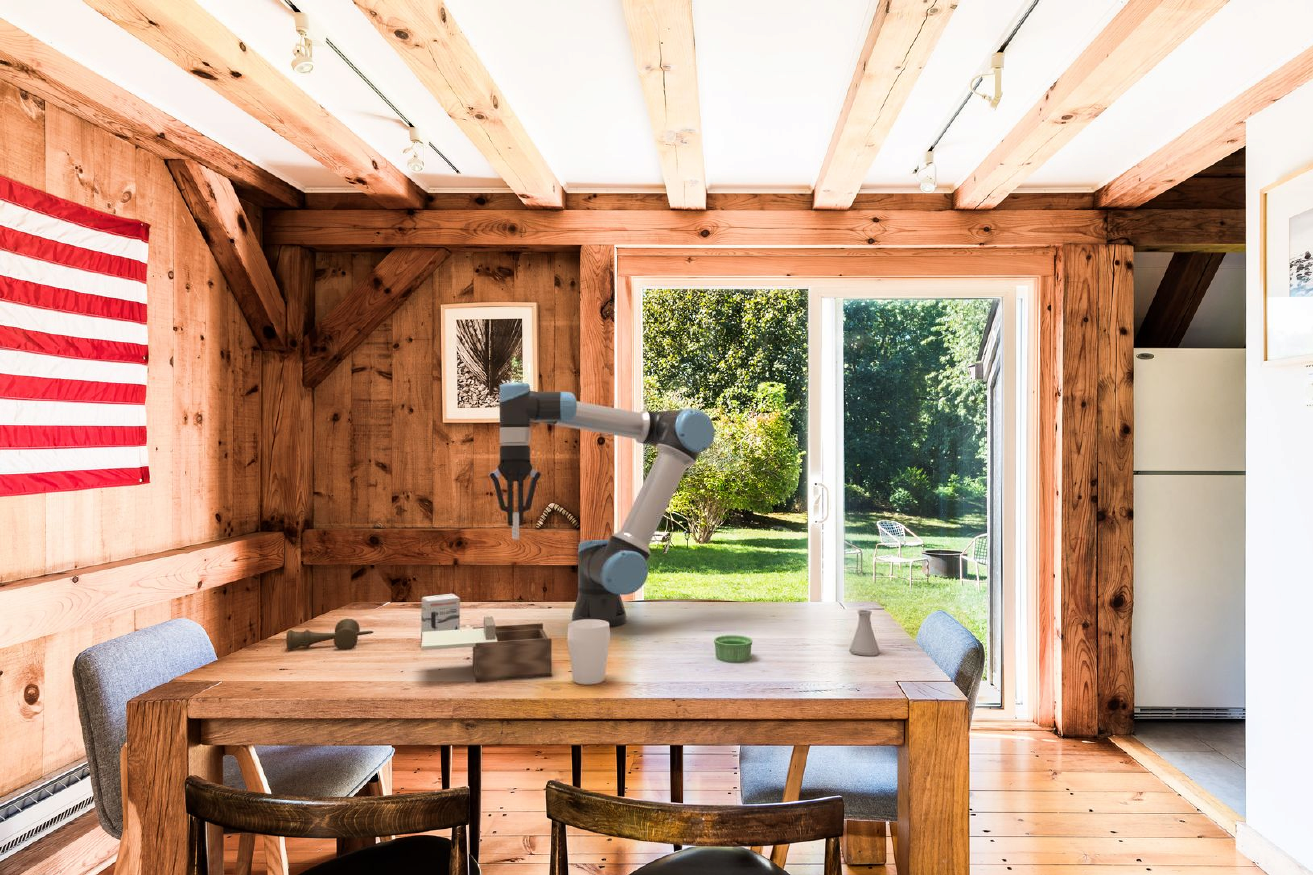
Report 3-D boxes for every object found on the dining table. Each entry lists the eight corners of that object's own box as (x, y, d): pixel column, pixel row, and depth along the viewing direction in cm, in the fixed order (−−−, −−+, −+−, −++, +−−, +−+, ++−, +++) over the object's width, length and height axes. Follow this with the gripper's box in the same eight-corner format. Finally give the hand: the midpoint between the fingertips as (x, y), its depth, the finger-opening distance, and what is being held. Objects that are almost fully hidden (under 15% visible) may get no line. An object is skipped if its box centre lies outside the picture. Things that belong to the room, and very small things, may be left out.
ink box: (426, 648, 199) (426, 600, 199) (420, 644, 203) (420, 596, 203) (460, 643, 204) (460, 596, 204) (453, 639, 208) (453, 593, 208)
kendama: (289, 647, 202) (374, 639, 208) (284, 658, 193) (373, 649, 199) (288, 623, 202) (373, 615, 208) (283, 633, 193) (372, 624, 199)
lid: (493, 631, 186) (493, 614, 186) (497, 645, 173) (497, 627, 173) (422, 635, 182) (422, 618, 182) (421, 650, 169) (421, 632, 169)
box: (542, 658, 190) (542, 623, 190) (551, 676, 175) (551, 638, 175) (472, 663, 185) (472, 627, 185) (475, 682, 171) (475, 643, 171)
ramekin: (727, 665, 184) (727, 646, 184) (706, 656, 192) (706, 637, 192) (760, 660, 188) (760, 641, 188) (738, 651, 196) (738, 633, 196)
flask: (881, 650, 196) (881, 609, 196) (879, 658, 190) (879, 615, 190) (850, 647, 199) (850, 607, 199) (847, 655, 192) (847, 613, 192)
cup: (567, 674, 176) (567, 619, 176) (609, 673, 177) (609, 618, 177) (566, 687, 167) (566, 629, 167) (610, 686, 168) (610, 628, 168)
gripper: (539, 444, 208) (539, 536, 208) (487, 444, 205) (487, 538, 205) (543, 444, 201) (543, 539, 201) (489, 444, 198) (490, 541, 198)
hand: (515, 538), depth 203 cm, fingers closed
